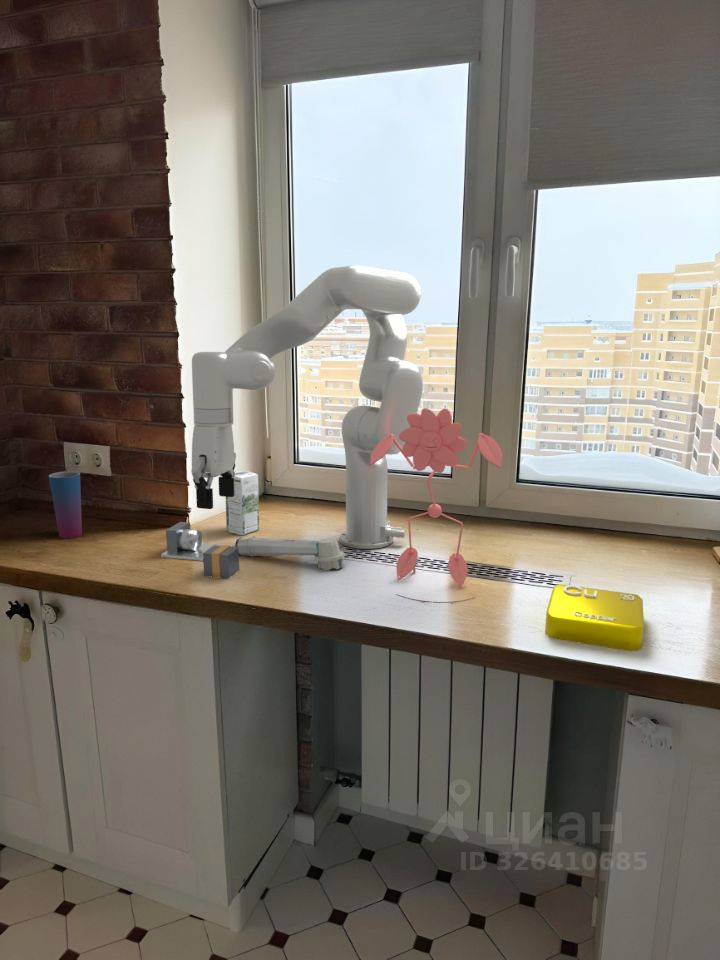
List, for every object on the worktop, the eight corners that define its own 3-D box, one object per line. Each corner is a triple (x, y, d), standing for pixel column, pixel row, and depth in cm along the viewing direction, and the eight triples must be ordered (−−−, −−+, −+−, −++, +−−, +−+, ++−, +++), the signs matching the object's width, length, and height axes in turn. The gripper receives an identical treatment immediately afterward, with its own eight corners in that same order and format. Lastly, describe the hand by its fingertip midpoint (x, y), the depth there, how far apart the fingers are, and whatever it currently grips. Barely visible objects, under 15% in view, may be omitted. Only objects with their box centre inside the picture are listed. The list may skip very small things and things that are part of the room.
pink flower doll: (376, 565, 143) (377, 400, 134) (499, 581, 134) (509, 406, 126) (351, 593, 129) (350, 411, 120) (487, 613, 121) (496, 419, 112)
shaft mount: (240, 549, 153) (239, 524, 151) (223, 562, 144) (222, 536, 143) (181, 544, 156) (179, 520, 155) (161, 557, 148) (159, 531, 146)
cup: (91, 533, 164) (86, 473, 160) (66, 541, 158) (60, 479, 154) (74, 529, 167) (68, 470, 164) (49, 536, 162) (42, 475, 158)
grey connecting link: (244, 533, 152) (345, 532, 142) (249, 562, 153) (349, 562, 143) (231, 540, 147) (335, 539, 137) (236, 569, 148) (339, 570, 138)
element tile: (543, 639, 111) (545, 612, 110) (552, 604, 125) (554, 580, 124) (641, 655, 106) (644, 627, 105) (640, 617, 119) (642, 591, 118)
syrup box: (243, 526, 170) (240, 469, 166) (260, 530, 166) (258, 473, 163) (226, 532, 165) (223, 474, 162) (243, 536, 162) (241, 477, 158)
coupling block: (239, 570, 140) (238, 546, 139) (229, 579, 136) (227, 554, 134) (215, 567, 142) (214, 544, 140) (204, 576, 137) (202, 552, 136)
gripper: (215, 410, 140) (217, 490, 144) (173, 421, 124) (177, 511, 127) (249, 412, 138) (250, 493, 142) (211, 423, 122) (214, 515, 126)
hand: (216, 502), depth 135 cm, fingers open, 9 cm apart
